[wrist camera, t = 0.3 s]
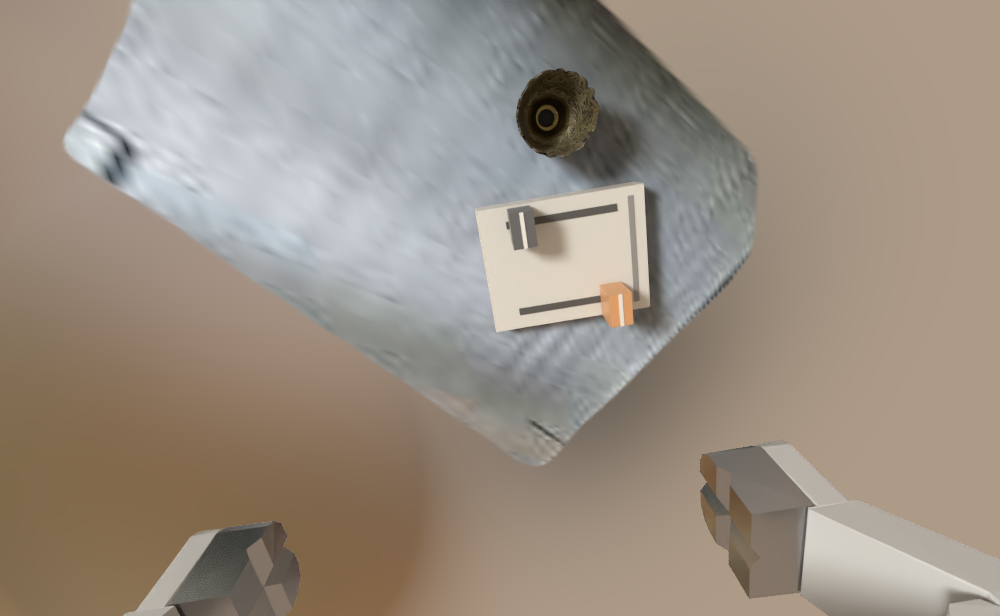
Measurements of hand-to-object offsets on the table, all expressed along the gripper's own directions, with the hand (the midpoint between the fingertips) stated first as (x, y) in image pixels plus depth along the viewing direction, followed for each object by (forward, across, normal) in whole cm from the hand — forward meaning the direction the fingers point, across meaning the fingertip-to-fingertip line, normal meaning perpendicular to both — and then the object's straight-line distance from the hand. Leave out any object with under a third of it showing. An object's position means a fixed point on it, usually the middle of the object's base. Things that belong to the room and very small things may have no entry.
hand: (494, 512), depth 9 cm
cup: (+46, -8, -8) cm, 47 cm away
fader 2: (+42, -13, +12) cm, 46 cm away
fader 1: (+42, -4, +2) cm, 43 cm away
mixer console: (+46, -8, +7) cm, 47 cm away
